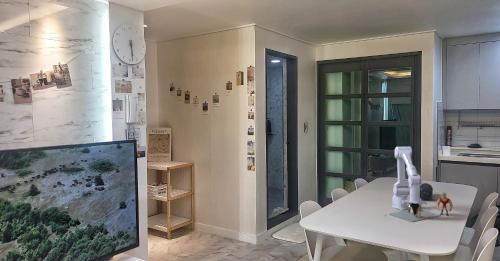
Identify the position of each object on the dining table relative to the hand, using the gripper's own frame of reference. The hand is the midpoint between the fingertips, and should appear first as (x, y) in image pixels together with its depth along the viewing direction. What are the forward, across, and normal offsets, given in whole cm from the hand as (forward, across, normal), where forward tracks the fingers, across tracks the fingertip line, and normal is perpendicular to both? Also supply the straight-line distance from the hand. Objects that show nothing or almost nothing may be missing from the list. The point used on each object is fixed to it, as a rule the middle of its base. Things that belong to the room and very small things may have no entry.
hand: (414, 215), depth 231 cm
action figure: (+2, +20, +8) cm, 22 cm away
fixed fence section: (+1, +5, +14) cm, 15 cm away
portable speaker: (+2, +22, +55) cm, 59 cm away
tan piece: (+1, +1, +3) cm, 3 cm away
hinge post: (+2, 0, +11) cm, 11 cm away
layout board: (+2, +1, +6) cm, 6 cm away
